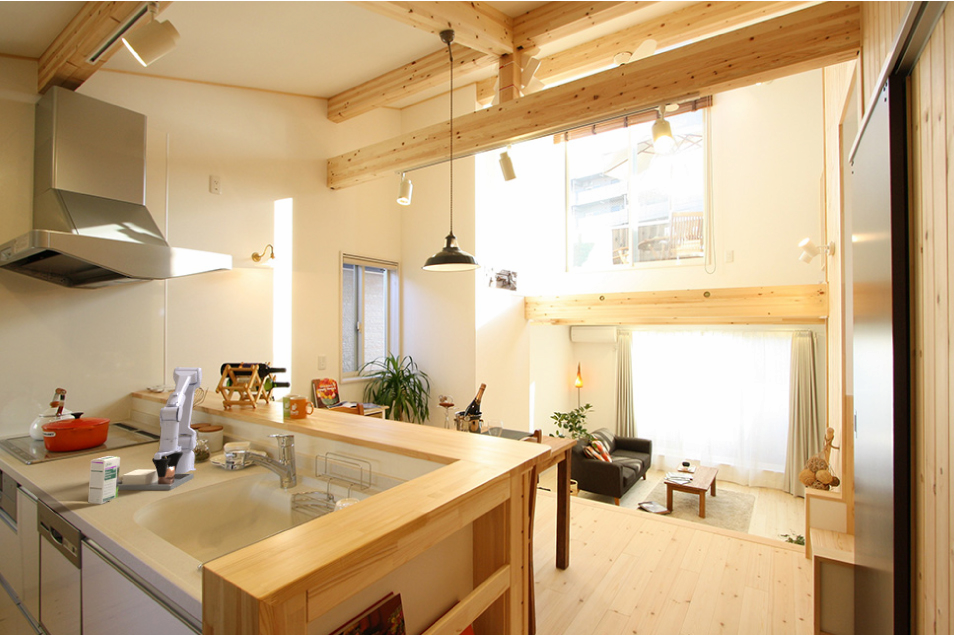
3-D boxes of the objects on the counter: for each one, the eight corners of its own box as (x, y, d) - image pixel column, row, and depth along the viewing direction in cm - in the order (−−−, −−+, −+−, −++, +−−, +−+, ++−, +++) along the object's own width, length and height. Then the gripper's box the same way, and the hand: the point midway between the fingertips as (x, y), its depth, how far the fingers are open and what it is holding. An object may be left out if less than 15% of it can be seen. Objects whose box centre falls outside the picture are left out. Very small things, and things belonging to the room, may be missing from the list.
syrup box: (101, 504, 155) (105, 460, 156) (87, 503, 156) (90, 458, 157) (117, 499, 160) (121, 456, 161) (103, 497, 162) (107, 455, 163)
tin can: (162, 481, 179) (163, 465, 180) (177, 481, 180) (177, 465, 180) (154, 485, 174) (155, 469, 175) (169, 485, 175) (170, 468, 175)
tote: (137, 479, 184) (138, 473, 184) (193, 480, 185) (193, 473, 186) (109, 492, 168) (109, 485, 168) (170, 492, 170) (170, 485, 170)
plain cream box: (135, 480, 180) (136, 469, 180) (157, 480, 181) (158, 469, 181) (121, 486, 172) (122, 475, 172) (144, 486, 173) (145, 475, 173)
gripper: (169, 442, 171) (166, 479, 170) (190, 434, 186) (187, 469, 185) (149, 441, 171) (146, 479, 170) (171, 434, 185) (169, 469, 184)
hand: (166, 474), depth 177 cm, fingers open, 6 cm apart
